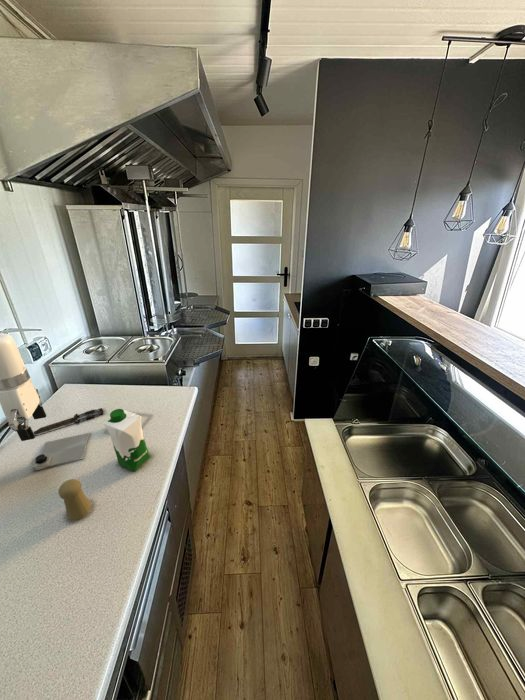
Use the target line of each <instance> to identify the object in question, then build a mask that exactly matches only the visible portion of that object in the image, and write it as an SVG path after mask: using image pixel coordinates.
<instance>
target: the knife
mask: <svg viewBox="0 0 525 700" xmlns="http://www.w3.org/2000/svg"><path fill="white" fill-rule="evenodd" d="M95 412H97V413H95ZM94 413H95V414H94ZM84 415H85V417H82V418H81V416H84ZM98 415H100V416H103V415H104V409H103V408H102V407H101V408H97V409H90V410H87V411H85V412H82V413H80V414H78V413H75V414H74V415H73V417H71V418H67V419H64V420H61V421H58V422H54V423H52V424H48V425H45V426H42V427H40V428H38V429H36V430H35V431H33V433H34V435H35V436H40V435H43V434H46V433H49V432H52V431H55V430H58V429H62V428H64V427H68V426H72V425H73V424H75V425H76V424H77V425H79V424H80V423H81V421H84V420H86V421H91V420H93V419H95V418H96V416H98Z"/></svg>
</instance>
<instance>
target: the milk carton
mask: <svg viewBox="0 0 525 700" xmlns="http://www.w3.org/2000/svg"><path fill="white" fill-rule="evenodd" d="M109 418H110V419H109V420H107V421H106V422H104V427H105V428H106V431H107V432H108V435H109V436H110V440H111V443H112V446H113V449H114V452H115V455H116V460H117V462H118V465H119V466H121V467H123V468H125V469H128V470H129V471H131V472H137V470H139V468H141V467H142V466H143V465H144V464H145V463H146V462H147V461H149V459H150V458H151V455H150V453H149V449H148V447H147V444H146V440H145V435H144V431H143V427H142V415H139V414H137V413H135V412H133V411H129V410H127V409H126V410H125V409H122V408H116V409H114V410H112V411H111V412H110V413H109Z"/></svg>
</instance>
